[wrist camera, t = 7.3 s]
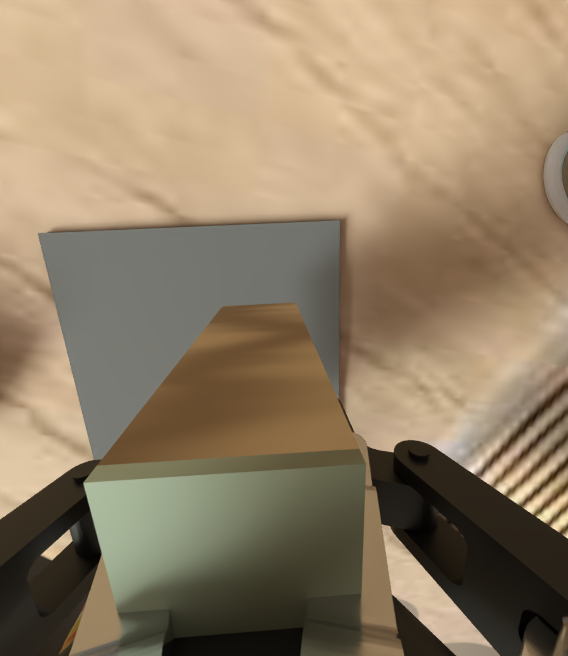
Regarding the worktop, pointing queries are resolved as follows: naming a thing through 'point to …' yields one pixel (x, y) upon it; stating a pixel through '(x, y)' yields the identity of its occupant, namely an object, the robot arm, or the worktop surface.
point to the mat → (178, 302)
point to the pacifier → (556, 176)
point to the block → (234, 484)
